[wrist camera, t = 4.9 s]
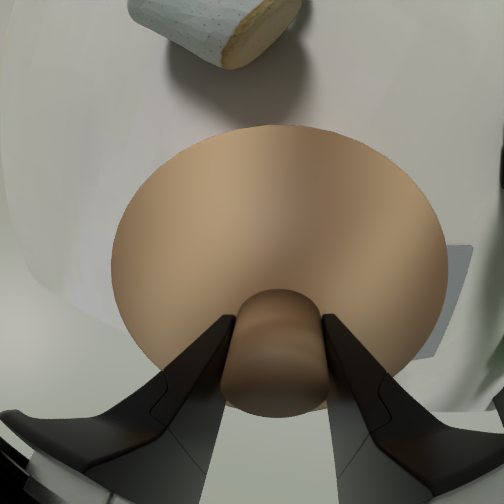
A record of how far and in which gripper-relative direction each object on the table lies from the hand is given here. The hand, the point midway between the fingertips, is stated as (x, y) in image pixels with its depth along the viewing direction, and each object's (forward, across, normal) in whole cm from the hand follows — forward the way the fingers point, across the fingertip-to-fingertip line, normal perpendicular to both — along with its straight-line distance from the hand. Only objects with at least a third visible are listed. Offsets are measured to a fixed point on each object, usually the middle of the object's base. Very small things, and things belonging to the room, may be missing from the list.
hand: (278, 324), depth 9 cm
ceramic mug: (+12, +2, -16) cm, 21 cm away
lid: (+1, 0, 0) cm, 1 cm away
